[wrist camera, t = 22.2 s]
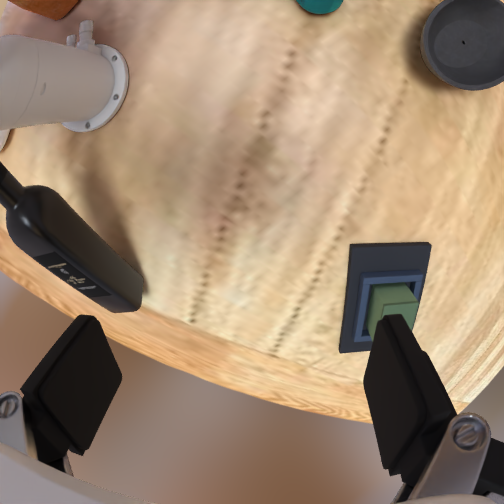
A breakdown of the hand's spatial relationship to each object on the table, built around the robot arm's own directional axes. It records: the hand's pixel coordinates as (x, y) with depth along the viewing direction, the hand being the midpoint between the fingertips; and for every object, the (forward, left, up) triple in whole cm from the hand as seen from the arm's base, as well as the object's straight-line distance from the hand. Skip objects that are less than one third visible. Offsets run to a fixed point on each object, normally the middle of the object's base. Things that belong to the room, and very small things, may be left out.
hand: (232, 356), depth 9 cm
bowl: (-21, +28, -28) cm, 45 cm away
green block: (+17, +17, -27) cm, 36 cm away
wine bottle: (+14, -20, -26) cm, 36 cm away
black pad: (+17, +17, -28) cm, 37 cm away
